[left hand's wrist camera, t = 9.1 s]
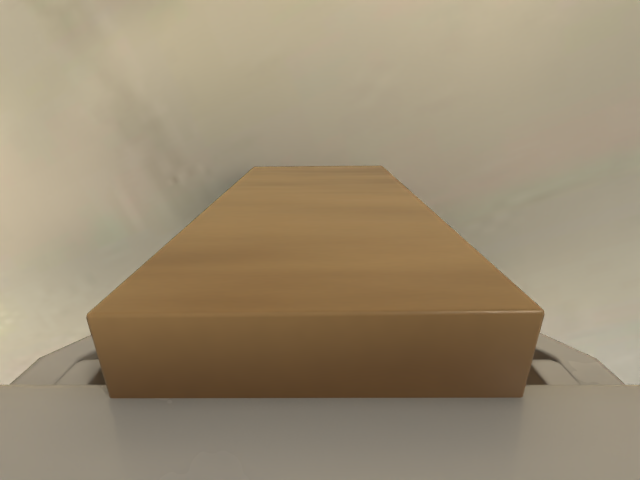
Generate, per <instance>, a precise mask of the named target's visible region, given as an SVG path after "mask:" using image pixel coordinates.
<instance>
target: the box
mask: <svg viewBox="0 0 640 480" xmlns="http://www.w3.org/2000/svg"><path fill="white" fill-rule="evenodd" d="M543 318H544V310H543V309H542V308H541V307H540V306H539V305H537V304H536V303H535V302H534V301H533V300H532V299H531V298H530V297H529V296H527V295H526V294H525V293H524V292H523V291H522V290H521V289H520V288H518V287H517V286H516V285H515V284H514V283H513V282H512V281H511V280H509V279H508V278H507V277H506V276H505V275H504V274H503V273H502V272H500V271H499V270H498V269H497V268H496V267H495V266H494V265H493V264H491V263H490V262H489V261H488V260H487V259H486V258H485V257H484V256H483V255H481V254H480V253H479V252H478V251H477V250H476V249H475V248H474V247H472V246H471V245H470V244H469V243H468V242H467V241H466V240H465V239H463V238H462V237H461V236H460V235H459V234H458V233H457V232H456V231H454V230H453V229H452V228H451V227H450V226H449V225H448V224H447V223H445V222H444V221H443V220H442V219H441V218H440V217H439V216H438V215H437V214H435V213H434V212H433V211H432V210H431V209H430V208H429V207H428V206H426V205H425V204H424V203H423V202H422V201H421V200H420V199H419V198H417V197H416V196H415V195H414V194H413V193H412V192H411V191H410V190H408V189H407V188H406V187H405V186H404V185H403V184H402V183H401V182H399V181H398V180H397V179H396V178H395V177H394V176H393V175H392V174H391V173H389V172H388V171H387V170H386V169H385V168H384V167H383V166H291V167H253V168H252V169H251V170H250V171H249V172H248V173H247V174H245V175H244V176H243V177H242V178H241V179H240V180H239V181H237V182H236V183H235V184H234V185H233V186H232V187H231V188H229V189H228V190H227V191H226V192H225V193H224V194H223V195H222V196H220V197H219V198H218V199H217V200H216V201H215V202H214V203H212V204H211V205H210V206H209V207H208V208H207V209H206V210H204V211H203V212H202V213H201V214H200V215H199V216H198V217H197V218H195V219H194V220H193V221H192V222H191V223H190V224H189V225H187V226H186V227H185V228H184V229H183V230H182V231H181V232H180V233H178V234H177V235H176V236H175V237H174V238H173V239H172V240H170V241H169V242H168V243H167V244H166V245H165V246H164V247H162V248H161V249H160V250H159V251H158V252H157V253H156V254H155V255H153V256H152V257H151V258H150V259H149V260H148V261H147V262H145V263H144V264H143V265H142V266H141V267H140V268H139V269H137V270H136V271H135V272H134V273H133V274H132V275H131V276H130V277H128V278H127V279H126V280H125V281H124V282H123V283H122V284H120V285H119V286H118V287H117V288H116V289H115V290H114V291H113V292H111V293H110V294H109V295H108V296H107V297H106V298H105V299H103V300H102V301H101V302H100V303H99V304H98V305H97V306H95V307H94V308H93V309H92V310H91V311H90V312H89V313H88V314H87V322H88V325H89V329H90V332H91V335H92V339H93V342H94V346H95V349H96V352H97V356H98V359H99V363H100V366H101V370H102V373H103V376H104V380H105V383H106V387H107V390H108V393H109V397H110V398H521V397H523V394H524V390H525V386H526V383H527V379H528V375H529V371H530V367H531V364H532V360H533V356H534V352H535V348H536V344H537V341H538V337H539V333H540V329H541V325H542V322H543Z"/></svg>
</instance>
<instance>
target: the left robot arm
mask: <svg viewBox="0 0 640 480" xmlns="http://www.w3.org/2000/svg"><path fill="white" fill-rule="evenodd" d="M0 480H640V385H625V384H624V383H623V382H622V381H621V380H620V379H619V378H617V377H616V376H615V375H614V374H613V373H612V372H611V371H610V370H609V369H608V368H606V367H605V366H604V365H603V364H602V363H601V362H600V361H599V360H598V359H596V358H594V357H592V356H590V355H588V354H585V353H583V352H581V351H579V350H576V349H574V348H572V347H570V346H568V345H565V344H563V343H561V342H559V341H557V340H554V339H552V338H550V337H548V336H546V335H543V334H541V333H539V337H538V341H537V344H536V348H535V352H534V356H533V360H532V364H531V367H530V371H529V375H528V379H527V383H526V386H525V390H524V394H523V397H521V398H110V397H109V393H108V390H107V387H106V383H105V380H104V376H103V373H102V370H101V366H100V363H99V359H98V356H97V352H96V349H95V346H94V342H93V339H92V335H90V336H88V337H86V338H83V339H81V340H79V341H77V342H74V343H72V344H70V345H68V346H65V347H63V348H61V349H59V350H56V351H54V352H52V353H50V354H48V355H45V356H43V357H41V358H39V359H38V360H37V361H36V362H34V363H33V364H32V365H31V366H30V367H29V368H28V369H27V370H25V371H24V372H23V373H22V374H21V375H20V376H19V377H18V378H16V379H15V380H14V381H13V382H12V383H11V384H10V385H0Z"/></svg>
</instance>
